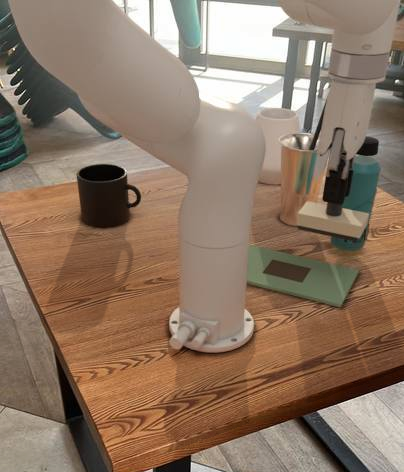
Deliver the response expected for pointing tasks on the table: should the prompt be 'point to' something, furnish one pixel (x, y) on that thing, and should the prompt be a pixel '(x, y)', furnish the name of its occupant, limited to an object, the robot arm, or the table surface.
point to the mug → (105, 195)
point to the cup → (275, 140)
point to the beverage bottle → (361, 190)
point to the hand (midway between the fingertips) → (335, 197)
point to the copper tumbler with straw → (300, 171)
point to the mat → (299, 276)
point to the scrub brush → (332, 219)
